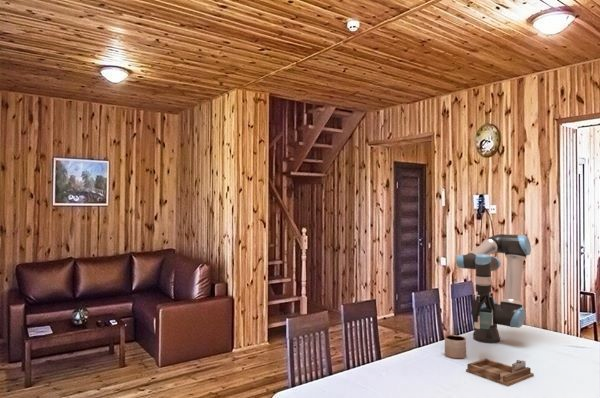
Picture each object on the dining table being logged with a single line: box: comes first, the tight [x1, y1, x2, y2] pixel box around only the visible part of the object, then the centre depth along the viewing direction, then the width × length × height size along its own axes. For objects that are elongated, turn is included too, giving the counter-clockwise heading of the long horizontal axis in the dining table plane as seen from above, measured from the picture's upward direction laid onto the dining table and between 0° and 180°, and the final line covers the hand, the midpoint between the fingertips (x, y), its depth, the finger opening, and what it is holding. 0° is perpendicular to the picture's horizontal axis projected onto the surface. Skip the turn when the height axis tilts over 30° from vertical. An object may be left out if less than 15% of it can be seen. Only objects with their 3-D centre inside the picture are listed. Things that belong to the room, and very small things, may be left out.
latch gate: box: [511, 359, 527, 372], centre depth 205 cm, size 2×9×6 cm, turn 124°
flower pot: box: [479, 309, 493, 329], centre depth 229 cm, size 9×9×9 cm
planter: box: [444, 334, 467, 360], centre depth 234 cm, size 11×11×10 cm
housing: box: [465, 358, 535, 387], centre depth 208 cm, size 21×22×4 cm
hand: (483, 326), depth 229 cm, fingers closed on flower pot, 11 cm apart
